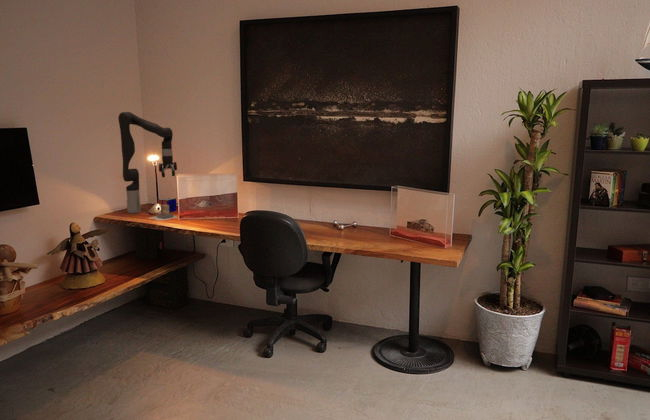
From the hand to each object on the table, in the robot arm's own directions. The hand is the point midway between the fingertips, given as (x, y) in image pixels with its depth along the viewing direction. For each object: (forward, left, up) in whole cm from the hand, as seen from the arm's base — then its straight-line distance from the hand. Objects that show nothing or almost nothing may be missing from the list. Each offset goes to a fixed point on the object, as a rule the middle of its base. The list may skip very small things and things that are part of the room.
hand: (168, 176), depth 388 cm
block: (+10, -12, -26) cm, 30 cm away
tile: (+5, -12, -27) cm, 29 cm away
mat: (+9, -13, -28) cm, 32 cm away
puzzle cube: (-8, +3, -28) cm, 30 cm away
